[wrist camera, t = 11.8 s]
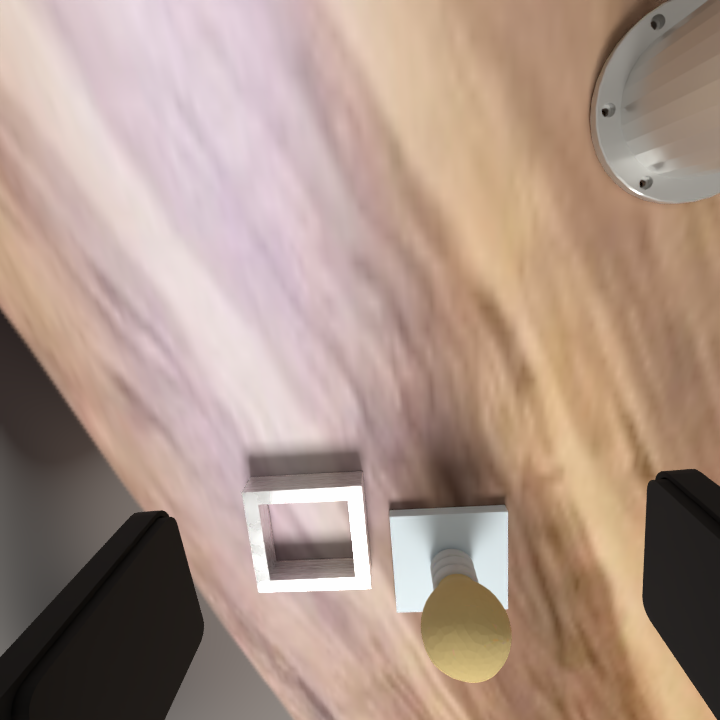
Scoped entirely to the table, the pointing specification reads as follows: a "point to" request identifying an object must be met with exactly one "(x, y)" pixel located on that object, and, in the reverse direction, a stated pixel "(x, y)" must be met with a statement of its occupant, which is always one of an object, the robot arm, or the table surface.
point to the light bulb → (463, 621)
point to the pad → (448, 531)
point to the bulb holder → (314, 570)
